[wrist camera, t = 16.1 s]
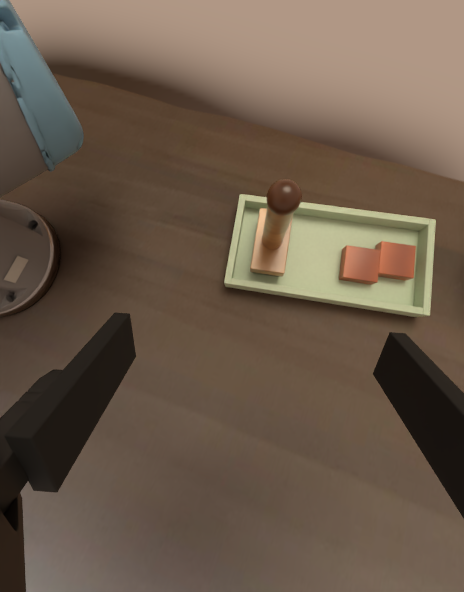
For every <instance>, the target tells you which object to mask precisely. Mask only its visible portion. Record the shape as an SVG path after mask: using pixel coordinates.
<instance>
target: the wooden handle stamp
mask: <svg viewBox="0 0 464 592" xmlns="http://www.w3.org/2000/svg"><path fill="white" fill-rule="evenodd" d="M301 199H302V194H301V190H300V188H299V186H298V185H297V184H296V183H295V182H294V181H292V180H289V179H282V180H279V181H277V182H275V183H274V184H273V185H272V186H271V187H270V188H269V190H268V193H267V205H268V206H267V209H265V208H260V211H259V217H258V223H257V229H256V236H255V242H254V248H253V254H252V260H251V266H250V272H252V273H257V274H263V275H270V276H276V277H279V276H283V275H284V273H285V267H286V260H287V253H288V246H289V239H290V232H291V225H292V218H293V214H294V212H295V211H296V210H297V208H298V207H299V205H300V203H301Z"/></svg>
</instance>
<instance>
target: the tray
mask: <svg viewBox="0 0 464 592" xmlns="http://www.w3.org/2000/svg"><path fill="white" fill-rule="evenodd" d="M267 206H268V205H267V197H259V196H251V195H244V194H240V196H239V202H238V208H237V213H236V219H235V224H234V230H233V235H232V241H231V247H230V252H229V258H228V263H227V269H226V274H225V280H224V284H225V286H226V287H230V288H237V289H243V290H249V291H255V292H262V293H268V294H274V295H280V296H287V297H293V298H299V299H305V300H312V301H318V302H324V303H330V304H337V305H343V306H349V307H355V308H362V309H368V310H374V311H380V312H387V313H393V314H399V315H405V316H412V317H422V316H430V306H431V290H432V273H433V257H434V241H435V224H436V220H435V219H427V218H420V217H412V216H404V215H397V214H389V213H381V212H374V211H366V210H359V209H351V208H343V207H336V206H328V205H320V204H313V203H305V202H301V203H300V205H299V207H298V208H297V210H296V211H295V212H294V214H293V218H292V225H291V232H290V239H289V246H288V253H287V260H286V267H285V273H284V275H283V276H279V277H276V276H270V275H263V274H257V273H252V272H250V266H251V260H252V254H253V248H254V242H255V236H256V229H257V223H258V217H259V211H260V208H265V209H267ZM381 241H384V242H391V243H398V244H406V245H413V246H416V252H415V266H414V278H412V279H409V280H406V281H404V280H398V279H391V278H384V277H378V282H377V283H375V284H372V285H369V284H363V283H356V282H350V281H343V280H339V271H340V262H341V254H342V249H343V248H344V247H345V246H346V245H348V246H355V247H362V248H369V249H375V246H376V245H377V244H378V243H380V242H381Z"/></svg>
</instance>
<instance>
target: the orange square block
mask: <svg viewBox="0 0 464 592" xmlns="http://www.w3.org/2000/svg"><path fill="white" fill-rule="evenodd" d="M375 249H376V250H381V251H380V262H379V272H378V277H384V278H391V279H398V280H404V281H406V280H409V279H412V278H414V266H415V252H416V246H413V245H406V244H398V243H391V242H384V241H381V242H380V243H378V244H377V245H376V246H375Z"/></svg>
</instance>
